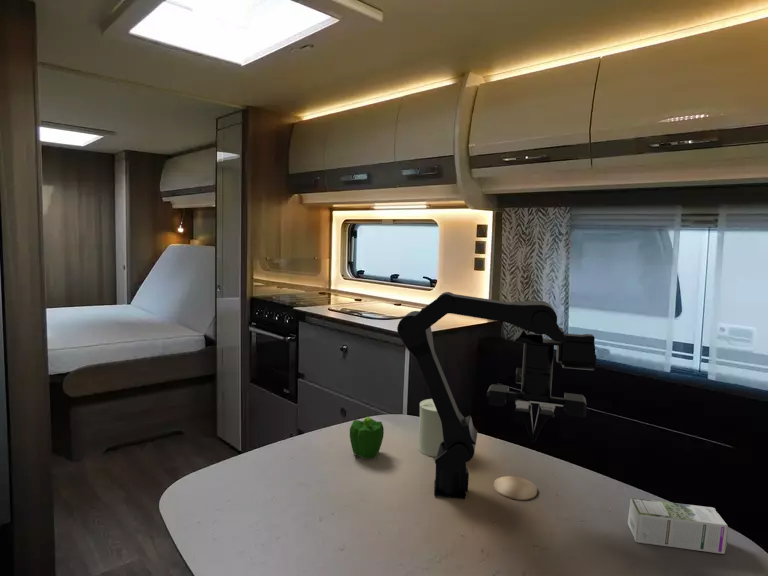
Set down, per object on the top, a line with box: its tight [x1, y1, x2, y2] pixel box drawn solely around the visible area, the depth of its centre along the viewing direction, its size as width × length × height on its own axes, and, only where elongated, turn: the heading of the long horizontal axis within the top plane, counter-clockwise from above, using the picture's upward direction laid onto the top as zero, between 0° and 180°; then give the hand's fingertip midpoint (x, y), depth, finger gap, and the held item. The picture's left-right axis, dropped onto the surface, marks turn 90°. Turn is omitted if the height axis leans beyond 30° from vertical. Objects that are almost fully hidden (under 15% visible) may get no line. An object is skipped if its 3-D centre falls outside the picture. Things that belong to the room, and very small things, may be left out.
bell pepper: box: [349, 416, 385, 460], centre depth 122 cm, size 8×8×10 cm
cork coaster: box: [493, 475, 538, 501], centre depth 108 cm, size 9×9×1 cm
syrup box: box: [627, 497, 729, 555], centre depth 91 cm, size 6×6×14 cm
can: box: [417, 398, 444, 458], centre depth 126 cm, size 9×9×12 cm
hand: (532, 441), depth 101 cm, fingers closed
